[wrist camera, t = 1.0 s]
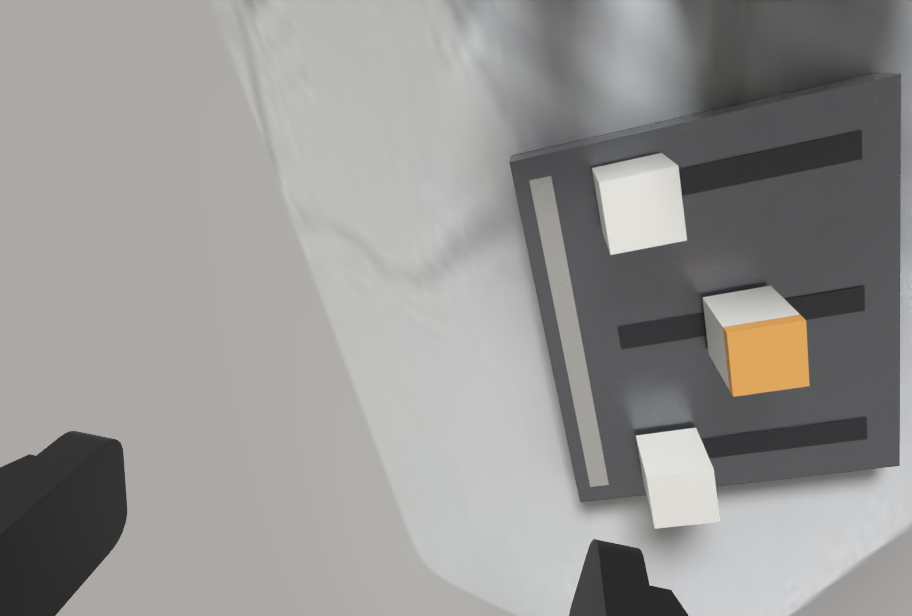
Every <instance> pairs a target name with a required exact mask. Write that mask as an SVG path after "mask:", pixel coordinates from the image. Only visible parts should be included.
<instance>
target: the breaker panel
mask: <svg viewBox="0 0 912 616" xmlns="http://www.w3.org/2000/svg"><path fill="white" fill-rule="evenodd" d="M900 117H901V74H892V73H873V74H868V75H864V76H860V77H855V78H851V79H846V80H842V81H838V82H833V83H829V84H824V85H820V86H816V87H811V88H807V89H802V90H798V91H794V92H789V93H785V94H781V95H776V96H772V97H767V98H763V99H759V100H754V101H750V102H745V103H741V104H737V105H732V106H728V107H723V108H719V109H715V110H710V111H706V112H701V113H697V114H693V115H688V116H684V117H679V118H675V119H671V120H666V121H662V122H658V123H653V124H649V125H644V126H640V127H636V128H631V129H627V130H622V131H618V132H614V133H609V134H605V135H600V136H596V137H592V138H587V139H583V140H578V141H574V142H570V143H565V144H561V145H557V146H552V147H548V148H543V149H539V150H535V151H530V152H526V153H521V154H517V155H513V156H511V159H510V166H511V171H512V176H513V180H514V185H515V190H516V195H517V200H518V205H519V209H520V214H521V219H522V224H523V229H524V233H525V238H526V243H527V248H528V253H529V257H530V262H531V267H532V272H533V277H534V282H535V286H536V291H537V296H538V301H539V306H540V310H541V315H542V320H543V325H544V330H545V334H546V339H547V344H548V349H549V354H550V358H551V363H552V368H553V373H554V378H555V383H556V387H557V392H558V397H559V402H560V407H561V411H562V416H563V421H564V426H565V431H566V435H567V440H568V445H569V450H570V455H571V460H572V464H573V469H574V474H575V479H576V484H577V488H578V493H579V498H580V502H586V501H595V500H604V499H612V498H621V497H630V496H639V495H646V491H645V487H644V483H643V477H642V471H641V465H640V459H639V453H638V447H637V441H636V435H644V434H651V433H659V432H666V431H674V430H682V429H689V428H696V429H697V431H698V433H699V436H700V438H701V440H702V443H703V445H704V447H705V450H706V452H707V454H708V457H709V459H710V461H711V464H712V466H713V468H714V475H715V483H716V487H717V486H726V485H735V484H744V483H752V482H761V481H770V480H779V479H787V478H796V477H805V476H814V475H822V474H831V473H840V472H849V471H857V470H866V469H875V468H884V467H893V466H899V442H900ZM659 153H663V154H664V155H665V156H666V157H668V158H669V159H670V160H672V161H673V162H674V163H675V164H677V165H678V167H679V175H680V184H681V192H682V201H683V210H684V218H685V227H686V235H687V241H682V242H677V243H671V244H666V245H661V246H655V247H650V248H645V249H640V250H634V251H629V252H624V253H619V254H613V255H610V252H609V249H608V247H607V244H606V241H605V238H604V236H603V233H602V227H601V221H600V215H599V209H598V203H597V197H596V191H595V185H594V178H593V172H592V168H595V167H599V166H604V165H608V164H613V163H617V162H622V161H627V160H631V159H636V158H640V157H645V156H650V155H654V154H659ZM766 286H772V287H773V288H774V289H775V290H776V291H777V292H778V293H779V294H780V295H781V296H782V297H783V298H784V299H785V300H786V301H787V302H788V303H789V304H790V305H791V306H792V307H793V308H794V309H795V310H796V311H797V312H798V313H799V314H800V315H801V316H802V317H803V318H804V319H805V320H806V327H807V346H808V366H809V385H810V386H807V387H800V388H793V389H786V390H778V391H771V392H764V393H757V394H750V395H743V396H736V397H733V396H732V394H731V392H730V390H729V389H728V387H727V385H726V383H725V382H724V380H723V378H722V377H721V375H720V373H719V371H718V370H717V368H716V366H715V364H714V363H713V361H712V359H711V357H710V356H709V352H708V343H707V334H706V325H705V316H704V307H703V298H702V297H707V296H713V295H719V294H725V293H731V292H736V291H742V290H748V289H754V288H760V287H766Z"/></svg>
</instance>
